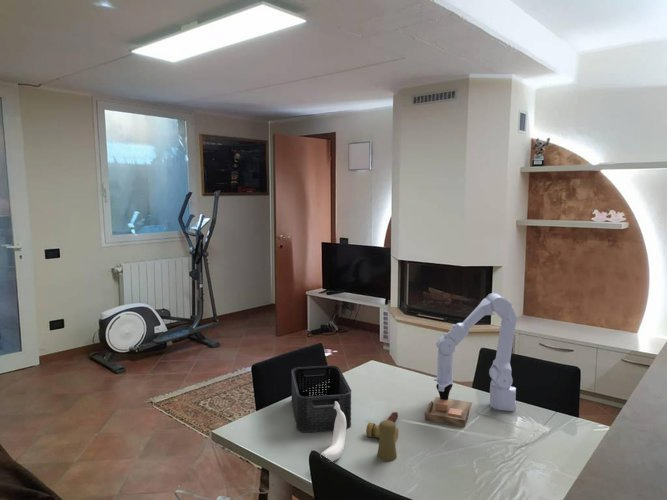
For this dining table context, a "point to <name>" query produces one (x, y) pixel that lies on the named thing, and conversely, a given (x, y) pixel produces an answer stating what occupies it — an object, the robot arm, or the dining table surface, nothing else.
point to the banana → (337, 436)
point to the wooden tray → (443, 415)
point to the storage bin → (319, 398)
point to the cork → (387, 441)
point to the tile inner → (455, 413)
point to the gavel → (374, 429)
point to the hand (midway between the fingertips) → (444, 402)
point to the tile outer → (442, 405)
